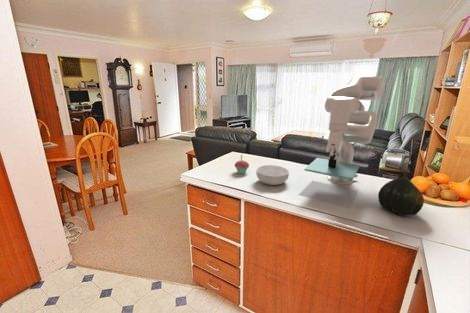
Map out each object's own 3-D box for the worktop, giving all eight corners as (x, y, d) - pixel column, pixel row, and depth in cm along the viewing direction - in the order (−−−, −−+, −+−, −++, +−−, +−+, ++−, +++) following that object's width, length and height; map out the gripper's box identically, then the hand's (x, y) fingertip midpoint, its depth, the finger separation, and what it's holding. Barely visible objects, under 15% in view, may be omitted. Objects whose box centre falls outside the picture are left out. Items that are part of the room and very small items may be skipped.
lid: (317, 159, 122) (318, 148, 121) (359, 166, 112) (361, 154, 110) (304, 170, 107) (305, 158, 105) (352, 180, 96) (354, 166, 94)
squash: (395, 209, 86) (423, 179, 86) (365, 194, 100) (388, 167, 100) (413, 229, 91) (439, 200, 91) (382, 211, 105) (404, 186, 105)
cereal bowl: (249, 181, 125) (249, 169, 123) (269, 174, 136) (270, 163, 134) (274, 192, 113) (275, 178, 111) (294, 183, 123) (295, 170, 122)
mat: (312, 181, 127) (312, 180, 126) (357, 191, 115) (357, 190, 115) (298, 195, 109) (298, 194, 109) (349, 209, 97) (349, 208, 97)
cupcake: (247, 175, 134) (248, 155, 130) (233, 174, 135) (233, 154, 132) (249, 170, 142) (250, 151, 138) (235, 169, 143) (236, 150, 140)
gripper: (333, 123, 112) (329, 160, 117) (324, 129, 99) (319, 169, 104) (350, 125, 108) (345, 162, 113) (343, 131, 95) (337, 173, 100)
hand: (332, 165), depth 109 cm, fingers closed on lid, 4 cm apart
